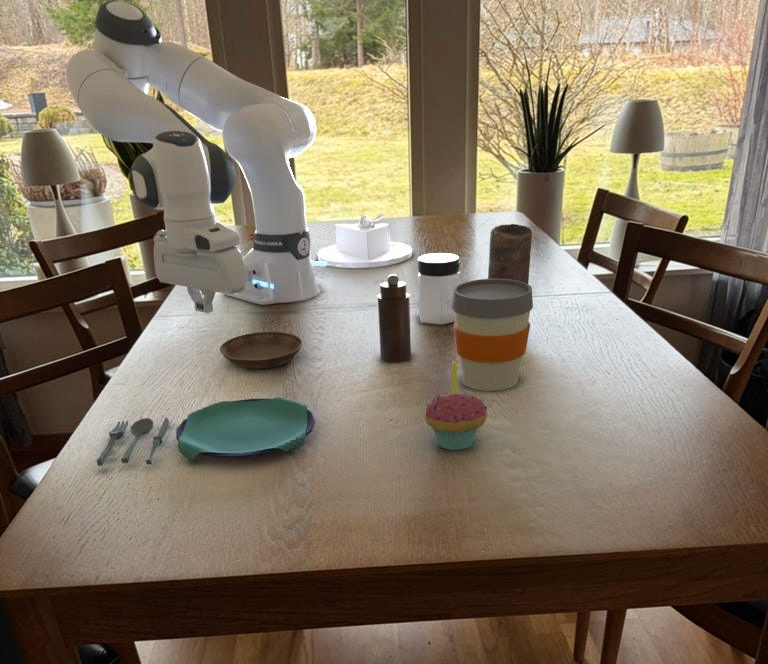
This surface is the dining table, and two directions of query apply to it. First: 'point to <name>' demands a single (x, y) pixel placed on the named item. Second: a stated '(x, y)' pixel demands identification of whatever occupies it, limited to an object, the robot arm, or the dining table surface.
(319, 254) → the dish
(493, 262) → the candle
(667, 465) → the dining table surface
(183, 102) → the robot arm
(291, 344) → the saucer
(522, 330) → the reusable coffee cup
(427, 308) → the jar
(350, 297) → the dining table surface
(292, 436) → the cutlery set
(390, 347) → the pepper mill
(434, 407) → the cupcake
